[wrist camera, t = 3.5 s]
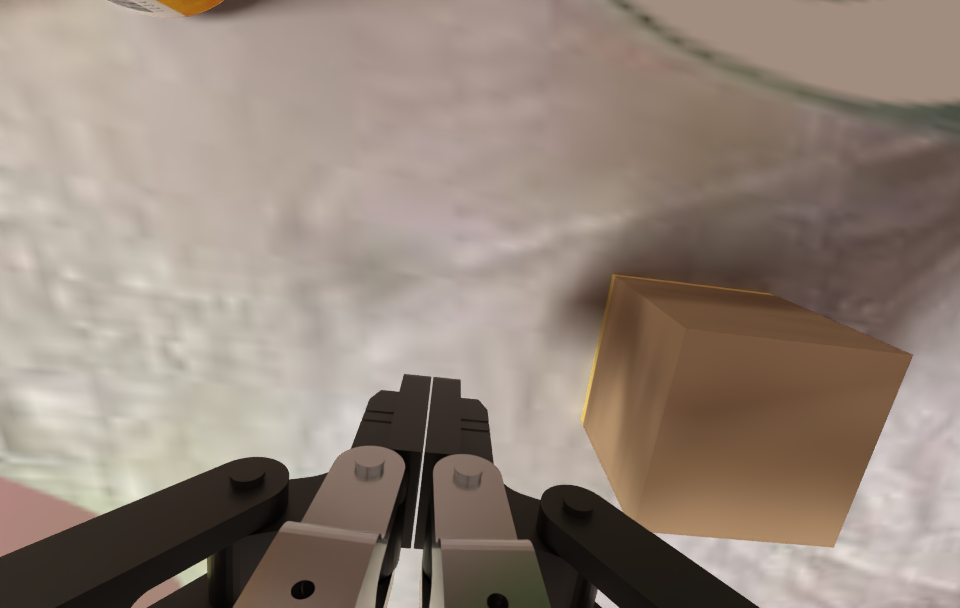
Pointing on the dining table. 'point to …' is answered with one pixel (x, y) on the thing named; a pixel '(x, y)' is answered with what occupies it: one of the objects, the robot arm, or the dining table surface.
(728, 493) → the cube
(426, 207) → the dining table surface
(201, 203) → the dining table surface
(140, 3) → the beer can
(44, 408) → the dining table surface
